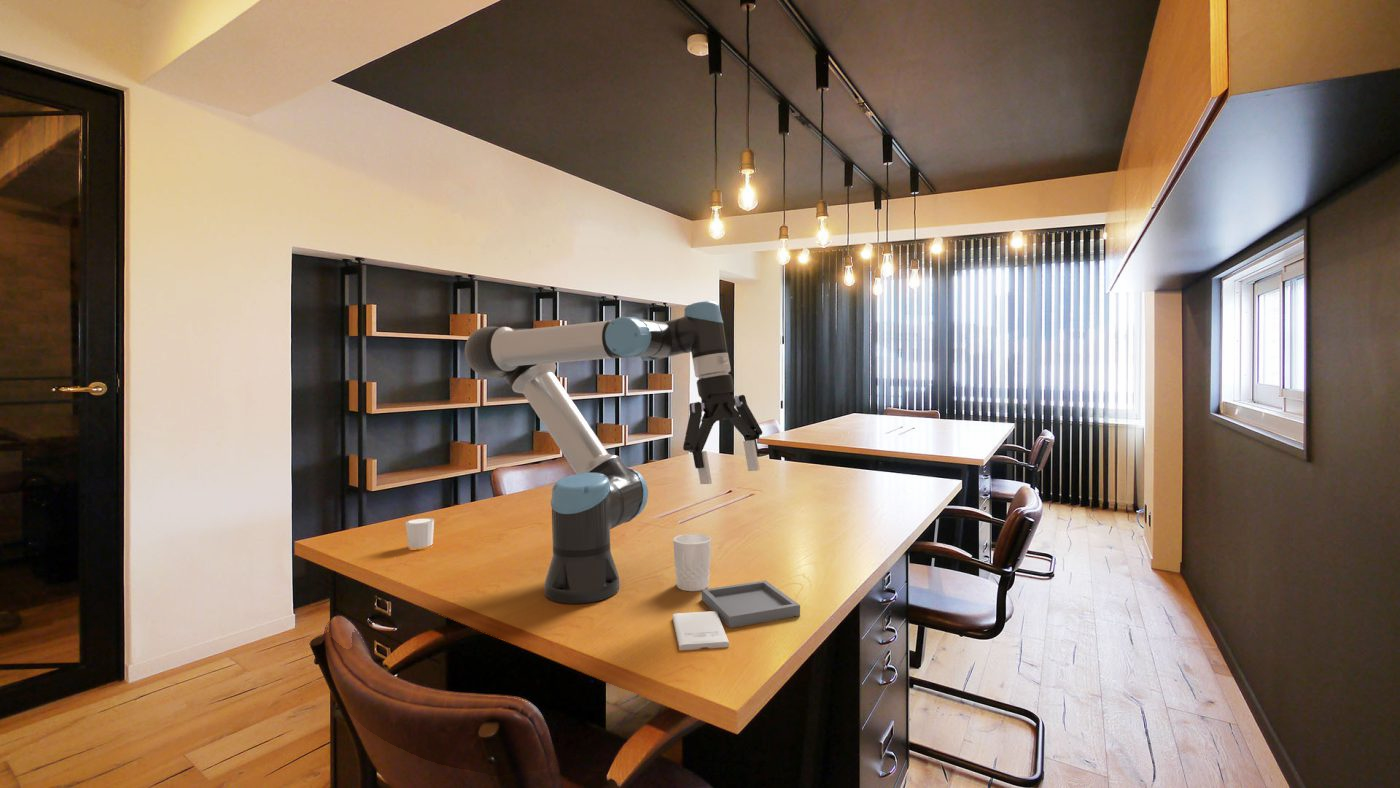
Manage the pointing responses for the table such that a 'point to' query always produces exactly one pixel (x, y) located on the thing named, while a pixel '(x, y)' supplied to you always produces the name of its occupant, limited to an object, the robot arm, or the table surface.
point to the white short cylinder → (420, 532)
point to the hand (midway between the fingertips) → (730, 477)
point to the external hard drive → (699, 630)
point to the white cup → (692, 561)
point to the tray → (749, 603)
